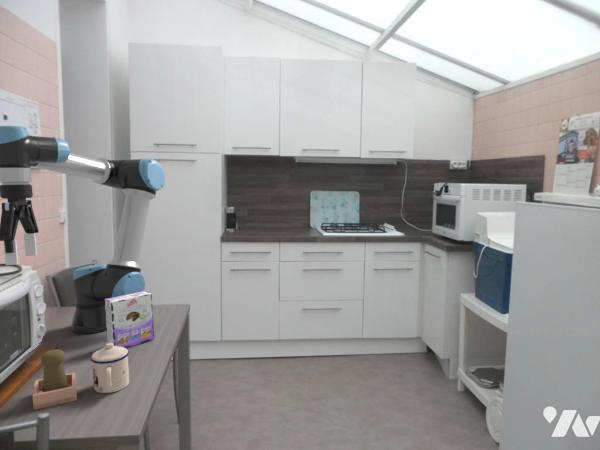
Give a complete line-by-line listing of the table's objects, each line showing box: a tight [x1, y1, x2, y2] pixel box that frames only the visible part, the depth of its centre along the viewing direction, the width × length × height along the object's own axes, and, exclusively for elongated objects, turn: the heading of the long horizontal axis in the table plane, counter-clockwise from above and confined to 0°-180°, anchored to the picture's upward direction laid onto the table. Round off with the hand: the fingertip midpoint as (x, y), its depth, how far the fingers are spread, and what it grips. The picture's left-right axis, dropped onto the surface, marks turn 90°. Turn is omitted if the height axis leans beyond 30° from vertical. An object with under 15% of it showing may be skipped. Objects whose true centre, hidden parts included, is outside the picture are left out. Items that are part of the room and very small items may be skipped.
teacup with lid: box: [90, 342, 130, 394], centre depth 112 cm, size 12×9×12 cm
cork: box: [40, 349, 68, 393], centre depth 108 cm, size 6×6×11 cm
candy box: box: [105, 290, 155, 349], centre depth 142 cm, size 14×6×16 cm, turn 134°
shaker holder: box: [32, 372, 78, 411], centre depth 109 cm, size 9×9×4 cm
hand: (22, 260), depth 119 cm, fingers open, 13 cm apart
